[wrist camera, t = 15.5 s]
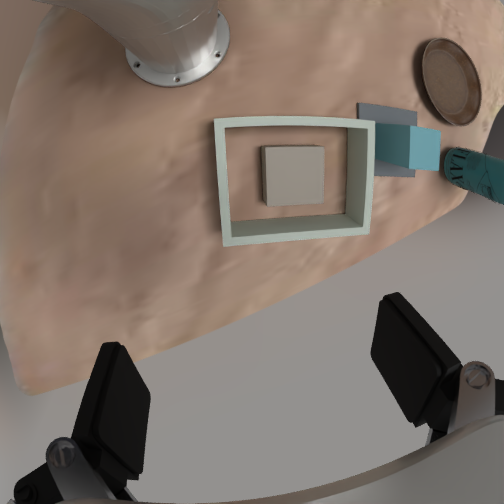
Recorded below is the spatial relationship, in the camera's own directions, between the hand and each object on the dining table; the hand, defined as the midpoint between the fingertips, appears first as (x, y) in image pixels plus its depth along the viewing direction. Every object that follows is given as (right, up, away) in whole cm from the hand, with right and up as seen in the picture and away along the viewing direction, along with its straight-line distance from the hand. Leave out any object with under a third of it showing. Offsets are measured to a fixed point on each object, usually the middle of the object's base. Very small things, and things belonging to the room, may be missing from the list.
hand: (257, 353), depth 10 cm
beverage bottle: (+32, +18, +28) cm, 46 cm away
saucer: (+31, +31, +22) cm, 49 cm away
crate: (+5, +14, +26) cm, 29 cm away
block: (+19, +19, +25) cm, 36 cm away
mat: (+19, +19, +25) cm, 37 cm away
